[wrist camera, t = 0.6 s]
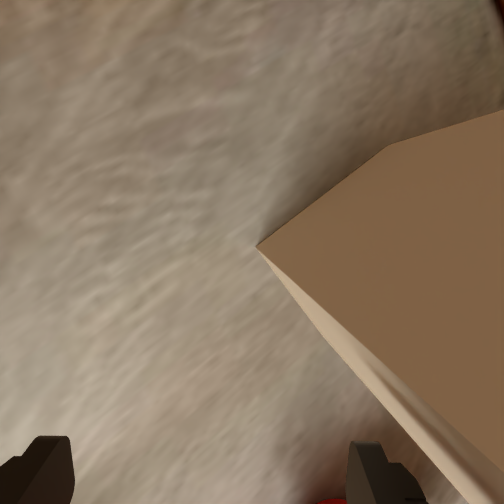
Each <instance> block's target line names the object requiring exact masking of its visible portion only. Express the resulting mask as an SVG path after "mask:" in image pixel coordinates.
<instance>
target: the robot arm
mask: <svg viewBox="0 0 504 504" xmlns="http://www.w3.org/2000/svg"><path fill="white" fill-rule="evenodd" d="M74 486H75V476H74V469H73V461H72V453H71V446H70V440H69V438H68V437H67V436H38V437H36V438H35V439H34V440H33V442H32V443H31V444H30V446H29V447H28V448H27V449H26V451H25V452H24V453H23V455H22V456H13V457H12V458H11V459H10V460H8V461H7V462H6V463H4V464H3V465H2V466H0V504H70V502H71V499H72V496H73V492H74ZM346 500H347V504H428V502H426V498H425V496H424V494H423V492H422V490H421V488H420V486H419V484H418V482H417V480H416V479H415V478H414V477H413V476H412V474H411V473H410V472H409V471H408V470H407V469H406V468H405V467H404V466H403V465H402V464H401V463H389V462H388V460H387V458H386V456H385V453H384V451H383V449H382V447H381V445H380V443H379V442H372V441H351V443H350V447H349V457H348V466H347V476H346Z"/></svg>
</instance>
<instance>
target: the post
mask: <svg viewBox="0 0 504 504" xmlns="http://www.w3.org/2000/svg"><path fill="white" fill-rule="evenodd" d="M256 249H257V250H258V251H259V253H260V254H261V255H262V257H263V258H264V259H265V261H266V262H267V263H268V264H269V266H270V267H271V268H272V270H273V271H274V272H275V274H276V275H277V276H278V278H279V279H280V280H281V282H282V283H283V284H284V286H285V287H286V288H287V290H288V291H289V292H290V294H291V295H292V296H293V297H294V299H295V300H296V301H297V303H298V304H299V305H300V307H301V308H302V309H303V311H304V312H305V313H306V315H307V316H308V317H309V319H310V320H311V321H312V323H313V324H314V325H315V326H316V328H317V329H318V330H319V332H320V333H321V334H322V336H323V337H324V338H325V339H326V340H327V341H328V343H329V344H330V345H331V346H332V347H333V348H334V349H335V351H336V352H337V353H338V354H339V355H340V356H341V358H342V359H343V360H344V361H345V362H346V363H347V364H348V366H349V367H350V368H351V369H352V370H353V371H354V372H355V374H356V375H357V376H358V377H359V378H360V379H361V380H362V382H363V383H364V384H365V385H366V386H367V387H368V388H369V390H370V391H371V392H372V393H373V394H374V395H375V396H376V398H377V399H378V400H379V401H380V402H381V403H382V404H383V406H384V407H385V408H386V409H387V410H388V411H389V412H390V414H391V415H392V416H393V417H394V418H395V419H396V420H397V422H398V423H399V424H400V425H401V426H402V427H403V428H404V430H405V431H406V432H407V433H408V434H409V435H410V436H411V438H412V439H413V440H414V441H415V442H416V443H417V444H418V446H419V447H420V448H421V449H422V450H423V451H424V452H425V454H426V455H427V456H428V457H429V458H430V459H431V460H432V462H433V463H434V464H435V465H436V466H437V467H438V468H439V470H440V471H441V472H442V473H443V474H444V475H445V476H446V478H447V479H448V480H449V481H450V482H451V483H452V484H453V486H454V487H455V488H456V489H457V490H458V491H459V492H460V494H461V495H462V496H463V497H464V498H465V499H466V500H467V502H468V503H469V504H504V110H500V111H497V112H494V113H491V114H487V115H484V116H481V117H478V118H475V119H471V120H468V121H465V122H462V123H458V124H455V125H452V126H449V127H445V128H442V129H439V130H436V131H432V132H429V133H426V134H423V135H419V136H416V137H413V138H410V139H407V140H403V141H400V142H397V143H394V144H390V145H388V146H386V147H385V148H384V149H382V150H381V151H380V152H378V153H377V154H376V155H375V156H373V157H372V158H371V159H369V160H368V161H367V162H365V163H364V164H363V165H362V166H360V167H359V168H358V169H356V170H355V171H354V172H352V173H351V174H350V175H349V176H347V177H346V178H345V179H343V180H342V181H341V182H339V183H338V184H337V185H335V186H334V187H333V188H332V189H330V190H329V191H328V192H326V193H325V194H324V195H322V196H321V197H320V198H319V199H317V200H316V201H315V202H313V203H312V204H311V205H309V206H308V207H307V208H306V209H304V210H303V211H302V212H300V213H299V214H298V215H296V216H295V217H294V218H293V219H291V220H290V221H289V222H287V223H286V224H285V225H283V226H282V227H281V228H279V229H278V230H277V231H276V232H274V233H273V234H272V235H270V236H269V237H268V238H266V239H265V240H264V241H263V242H261V243H260V244H259V245H257V246H256Z"/></svg>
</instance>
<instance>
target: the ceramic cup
mask: <svg viewBox="0 0 504 504" xmlns="http://www.w3.org/2000/svg"><path fill="white" fill-rule="evenodd" d="M316 504H347V500H343V499H336V498H334V499H327V500H323V501H321V502H319V503H316Z"/></svg>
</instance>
